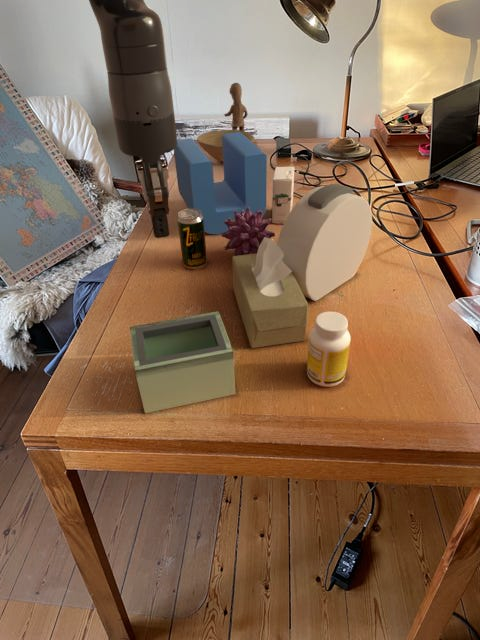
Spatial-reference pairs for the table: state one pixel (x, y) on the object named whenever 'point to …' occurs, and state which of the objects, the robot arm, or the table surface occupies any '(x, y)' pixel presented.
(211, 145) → the bowl
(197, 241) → the beer can
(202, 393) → the pale green open box
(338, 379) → the pill bottle
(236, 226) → the flower
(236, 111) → the figurine
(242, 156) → the block
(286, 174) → the ink box
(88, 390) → the table surface
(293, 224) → the alarm clock
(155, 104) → the robot arm
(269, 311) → the tissue box
